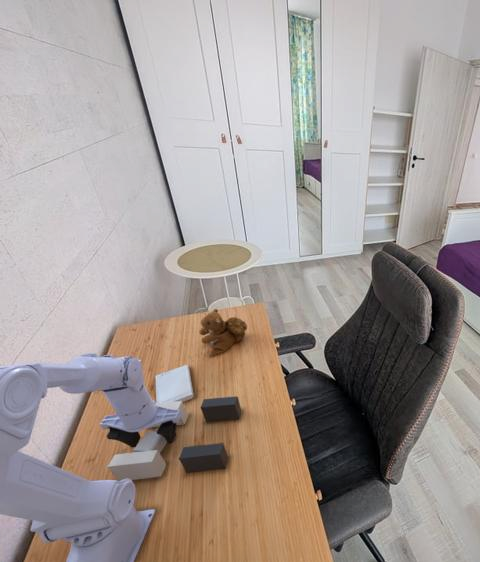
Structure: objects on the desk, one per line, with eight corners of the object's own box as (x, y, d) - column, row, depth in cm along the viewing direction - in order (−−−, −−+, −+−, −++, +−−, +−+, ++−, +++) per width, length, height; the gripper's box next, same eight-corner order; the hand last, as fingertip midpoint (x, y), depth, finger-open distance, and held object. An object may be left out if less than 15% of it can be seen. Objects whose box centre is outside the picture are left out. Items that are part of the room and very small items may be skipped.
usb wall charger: (138, 459, 63) (131, 449, 61) (159, 430, 69) (154, 420, 67) (156, 460, 63) (150, 451, 61) (175, 431, 69) (170, 421, 67)
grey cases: (225, 468, 63) (219, 454, 60) (186, 473, 61) (178, 458, 58) (241, 410, 75) (237, 396, 72) (209, 413, 74) (203, 398, 71)
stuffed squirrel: (203, 339, 97) (193, 308, 90) (247, 328, 103) (241, 298, 97) (204, 358, 90) (193, 326, 83) (251, 345, 96) (245, 315, 89)
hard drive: (154, 375, 81) (156, 408, 72) (187, 364, 85) (192, 393, 77) (156, 379, 82) (158, 412, 73) (189, 368, 86) (194, 397, 77)
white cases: (161, 476, 61) (151, 461, 58) (119, 481, 59) (107, 466, 56) (188, 415, 73) (182, 400, 70) (154, 418, 72) (146, 403, 69)
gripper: (179, 384, 63) (195, 421, 70) (106, 390, 61) (129, 428, 68) (164, 413, 57) (183, 450, 64) (82, 420, 55) (110, 458, 62)
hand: (154, 441), depth 65 cm, fingers open, 7 cm apart
